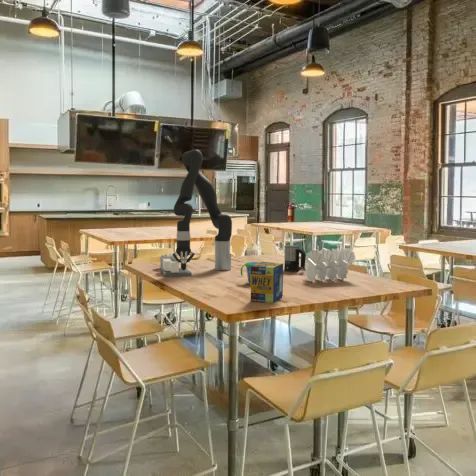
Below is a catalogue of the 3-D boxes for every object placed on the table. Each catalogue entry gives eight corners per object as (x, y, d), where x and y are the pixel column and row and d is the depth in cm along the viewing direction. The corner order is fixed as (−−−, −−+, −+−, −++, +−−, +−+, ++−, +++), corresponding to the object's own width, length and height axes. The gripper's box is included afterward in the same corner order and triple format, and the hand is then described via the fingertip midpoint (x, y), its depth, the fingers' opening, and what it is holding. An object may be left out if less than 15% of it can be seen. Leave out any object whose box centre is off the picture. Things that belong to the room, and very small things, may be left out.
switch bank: (186, 270, 313) (186, 267, 313) (191, 275, 294) (191, 272, 294) (161, 271, 309) (161, 268, 309) (164, 276, 291) (164, 273, 291)
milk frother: (281, 271, 312) (282, 246, 311) (289, 267, 327) (289, 243, 325) (305, 272, 307) (305, 247, 305) (311, 268, 321) (312, 244, 320)
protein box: (250, 301, 228) (250, 266, 227) (261, 294, 242) (261, 261, 241) (273, 303, 224) (273, 267, 223) (283, 296, 239) (283, 262, 237)
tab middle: (171, 269, 303) (171, 260, 303) (172, 270, 299) (171, 261, 299) (164, 269, 302) (164, 260, 302) (164, 271, 298) (164, 261, 298)
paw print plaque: (162, 270, 313) (162, 256, 313) (158, 267, 326) (158, 253, 325) (179, 269, 317) (179, 255, 316) (175, 266, 329) (175, 252, 328)
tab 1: (169, 268, 309) (169, 258, 309) (170, 269, 305) (170, 259, 305) (163, 268, 308) (162, 259, 308) (163, 269, 304) (163, 259, 304)
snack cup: (272, 281, 276) (272, 262, 275) (267, 285, 266) (267, 265, 265) (244, 280, 281) (244, 261, 280) (238, 283, 271) (238, 264, 270)
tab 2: (177, 271, 297) (177, 261, 297) (178, 272, 294) (178, 262, 293) (170, 271, 297) (170, 261, 296) (171, 272, 293) (171, 262, 292)
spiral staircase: (303, 287, 281) (344, 282, 289) (317, 278, 265) (360, 273, 274) (295, 255, 287) (336, 251, 295) (308, 244, 271) (351, 240, 279)
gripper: (194, 238, 300) (194, 268, 301) (170, 238, 296) (170, 269, 298) (196, 239, 292) (196, 270, 294) (172, 240, 289) (172, 271, 291)
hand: (183, 269), depth 296 cm, fingers closed
